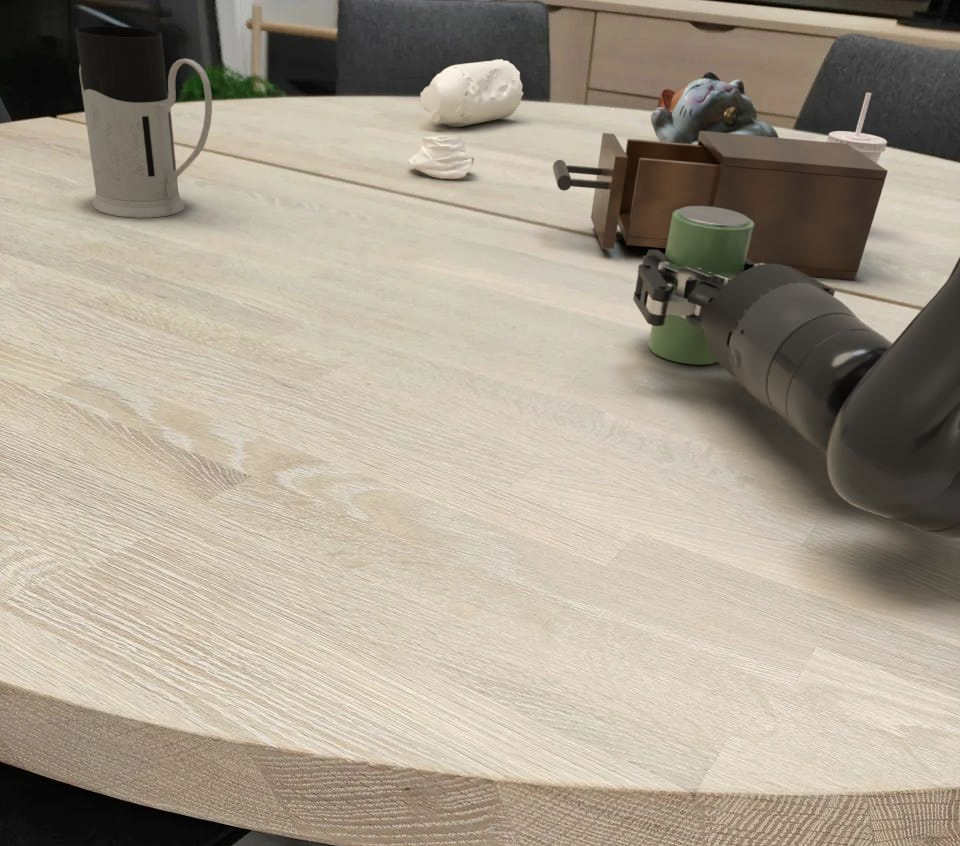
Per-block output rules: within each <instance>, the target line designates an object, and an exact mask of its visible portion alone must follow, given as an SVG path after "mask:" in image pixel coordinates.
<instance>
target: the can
mask: <svg viewBox="0 0 960 846" xmlns="http://www.w3.org/2000/svg"><path fill="white" fill-rule="evenodd" d="M753 229H754V222H753V221H752V220H751V219H749V218H748V217H747V216H745V215H743V214H741V213H738V212H735V211H731V210H727V209H722V208H717V207H708V206H688V207H683V208H681V209H677V210H675V211H674V212H673V213H672V219H671V224H670V230H669V235H668V240H667V246H666V248H665V252H664V255H665V256H666V257H667V258H668V259H670V260H671V261H672V262H673V263H674V264H676V265H678V266H681V267H686V266H692V265H698V266H701V267H704V268H706V269H709V270H712V271H714V272H717V273H725V272H728V273H730V274H733V275H736V276H737V275H739V274H740V273H742V272H744V268H745V263H746V259H747V255H748V250H749V246H750V242H751V237H752V233H753ZM700 282H702V281H701V280H698V279H697V284H696V287H697V286H698V284H699V283H700ZM673 285H674V286H673V293H675V294H676V291H677V285H678V280H677V278H675V277H674V279H673ZM647 345H648V348H649V350H650V351H651V352H652V353H653V354H654V355H656V356H658V357H660V358H662V359H665V360H668V361H671V362H675V363H680V364H686V365H695V366H696V365H698V366H699V365H701V366H703V365H712V364H717V363H718V362H717V361H716V359H715V358H714V357H713V355H712V353H711V351H710V349H709V346H708V343H707V340H706V337H705V333H704V331H703V329H702V328H700V327H697V326H695V325H692V324H690V323H689V322H688V321H687V320H686V319H685V318H683V317H680V316H678V315H668V318H667V319H665V323H664V325H662V326H653V325H651V328H650V333H649V339H648V343H647Z"/></svg>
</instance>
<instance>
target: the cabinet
mask: <svg viewBox="0 0 960 846" xmlns="http://www.w3.org/2000/svg"><path fill="white" fill-rule="evenodd" d="M697 145H704V146H705V147H706V148H707V149H708V150H709V151H710V152H711V153H712V154H713V156H714V157H715V158H716V159H717V160H718V161H719V162H720V163H721V165H720V170H719V174H718V179H717V184H716V189H715V194H714V199H713V203H712V207H717V208H722V209H727V210H731V211H735V212H738V213H741V214H743V215H745V216H747V217H748V218H749V219H751V220H752V221H753V222H754V229H753V233H752V237H751V242H750V246H749V250H748V255H747V258H748V259H750V260H751V261H753V262H754V263H755V264H757V263H765V264H780V265H784V266H791V267H792V268H794V269H796V270H798V271H800V272H802V273H804V274H805V275H807V276H809V277H811V278H824V279H825V278H826V279H836V280H837V279H838V280H848V281H855V280H856V279H857V276H858V272H859V268H860V265H861V261H862V258H863V256H864V252H865V250H866V249H865V248H866V245H867V241H868V238H869V235H870V232H871V229H872V225H873V222H874V219H875V215H876V213H877V209H878V205H879V202H880V199H881V195H882V192H883V188H884V186H885V182H886V179H887V175H888V173H889V171H888V169H885V167H882V166H881V164H878V162H877V163H875V162H874V161H872V160H871V159H869V158H868V157H866V156H865V155H863V154H862V153H860V152H859V151H857V150H856V149H854V148H853V147H851V146H850V145H848V144H843V143H831V142H826V141H819V140H810V139H809V140H808V139H807V140H806V139H797V138H786V137H779V138H776V137H764V136H753V135H742V134H731V133H720V132H708V131H700V132H699V136H698V142H697Z"/></svg>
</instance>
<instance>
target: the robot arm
mask: <svg viewBox="0 0 960 846" xmlns="http://www.w3.org/2000/svg"><path fill="white" fill-rule="evenodd" d="M674 277H675V278H677V280H678V285H677V291H676V294H675V293H673V286H674V285H673V279H674ZM697 279H698V280H701V281H702V282H700V283H699V284H698V286H697V287H696V284H697ZM835 292H836V290H835V289H833V288H831V287H830V286H828V285H826V284H824V283H822V282H820V281H818V280H817V279H814V277H811V276H807V275H805V274H804V273H802V272H800V271H798V270H796V269H794V268H792V267H791V266H784V265H780V264H765V263H757V264H755V263H754V262H753V261H751V260H750V259H748V258H747V259H746V263H745V268H744V272H742V273H740V274H739V275H737V276H736V275H733V274H730V273H728V272H725V273H717V272H714V271H712V270H709V269H706V268H704V267H701V266H698V265H692V266H686V267H681V266H678V265H676V264H674V263H673V262H672V261H671V260H670V259H668V258H667V257H666V256H665V253H663V252H662V251H661V250H659V249H648V251H647V253H646V255H643V256H642V262H641V264H639V265H638V268H637V278H636V284H635V289H634V293H633V297H632V300H633V301H634V303H635V305H636V306H637V308H638V310H639V311H640V314H641V315H642V317H643V318H644V320H645V321H646V323H647V324H648V325H650V326H652V325H653V326H662V325H664V323H665V319H667V318H668V315H678V316H680V317H683V318H685V319H686V320H687V321H688V322H689V323H690V324H692V325H695V326H697V327H700V328H702V329H703V331H704V333H705V337H706V340H707V343H708V346H709V349H710V351H711V353H712V355H713V357H714V358H715V359H716V361H717V362H716V363H718V364H719V365H720V366H721V367H722V368H723V370H725V371H726V372H727V373H729V375H730V376H731V377H732V378H733V379H735V380H736V381H737V382H738V384H740V386H742V387H743V388H744V389H745V390H746V391H747V392H748V393H749V394H750V395H751V396H753V398H754V399H756V400H757V401H758V403H760V404H761V405H763V406H764V407H766V408H768V409H769V410H771V411H772V412H774V413H776V414H777V415H778V416H780V417H781V418H782V419H783V420H784V422H786V423H787V424H788V425H789V426H790V427H791V428H792V429H793V430H794V431H795V432H796V433H797V434H798V435H800V436H801V437H802V438H803V439H804V440H805V441H807V442H808V443H809V444H811V445H813V446H814V447H815V448H818V449H819V450H821V451H823V452H825V453H826V469H827V474H828V475H827V476H828V478H829V481H830V483H831V486H832V487H833V489H834V491H835V492H836V493H837V494H838V496H839V497H841V499H842V500H844V501H846V502H847V503H849V504H850V505H851V506H853V507H856V508H858V509H861V510H863V511H865V512H869V513H872V514H875V515H877V516H881V517H884V518H887V519H889V520H893V521H895V522H898V523H901V524H904V525H905V526H909V527H912V528H915V529H918V530H921V531H923V532H926V533H928V534H932V535H934V536H939V537H943V538H949V539H960V256H959V257H958V259H957V260H956V263H955V265H954V267H953V269H952V271H951V273H950V275H949V277H948V278H947V280H946V282H945V283H944V284H943V285H942V287H940V289H939V290H938V291H937V292H936V293H935V295H934V296H933V297H932V298H931V299H930V300H929V301H928V302H927V303H926V305H925V306H923V308H922V309H921V310H920V311H919V312H918V313H917V314H916V315H915V316H914V317H913V319H912V320H911V321H910V322H909V324H907V326H906V327H905V328H904V330H903V331H902V332H901V333H900V335H899V336H898V337H897V338H896V339H895V340H894V341H893V342H891V341H890V340H888V338H886V337H885V336H884V335H882V334H881V333H879V332H877V331H876V330H875V329H873V328H872V327H870V326H869V325H867V324H866V323H865V322H863V321H861V320H860V319H859V318H858V317H857V316H856V314H855V313H854V312H853V311H852V310H851V309H850V308H849V306H847V305H846V304H845V303H844V302H842V301H841V300H839V298H837V297H835V296H834V295H835Z"/></svg>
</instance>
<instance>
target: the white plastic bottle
mask: <svg viewBox="0 0 960 846" xmlns="http://www.w3.org/2000/svg"><path fill="white" fill-rule="evenodd" d="M520 75H521V73H520V71H519V70H518V69H517V68H516V66H515V65H514V64H513V63H511V62H510V61H509V60H503V58H501V59H493V60H485V61H478V62H477V61H476V62H467V63H459V64H454V65H449V66H448V67H446V68H444V69H443V70H442V71H441V72H439V73H437V74H436V75H435V76H434V77H433V78H432V80H431V81H430V83H429V85H427V86H426V87H424V88H423V89H422V91H421V92H420V95H419V96H420V104H421V107H422V108H423V110H424V111H426V112H427V113H428V114H429V115H432V122H442V123H444V124H446V125H447V126H449V127H453V128H461V127H467V126H471V125H475V124H480V123H481V124H482V123H486V122H492V121H496V120H503V119H506V118H509V117H511V116H512V115H513V114H514V113H515V112H516V111H517V110H518V108H519V106H520V105H521V101H522V97H523V95H524V94H525V93H524V92H523V83H522V81H521V76H520Z"/></svg>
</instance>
